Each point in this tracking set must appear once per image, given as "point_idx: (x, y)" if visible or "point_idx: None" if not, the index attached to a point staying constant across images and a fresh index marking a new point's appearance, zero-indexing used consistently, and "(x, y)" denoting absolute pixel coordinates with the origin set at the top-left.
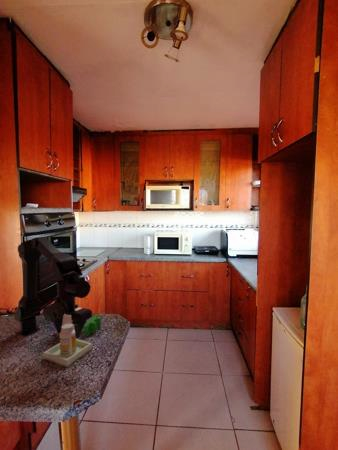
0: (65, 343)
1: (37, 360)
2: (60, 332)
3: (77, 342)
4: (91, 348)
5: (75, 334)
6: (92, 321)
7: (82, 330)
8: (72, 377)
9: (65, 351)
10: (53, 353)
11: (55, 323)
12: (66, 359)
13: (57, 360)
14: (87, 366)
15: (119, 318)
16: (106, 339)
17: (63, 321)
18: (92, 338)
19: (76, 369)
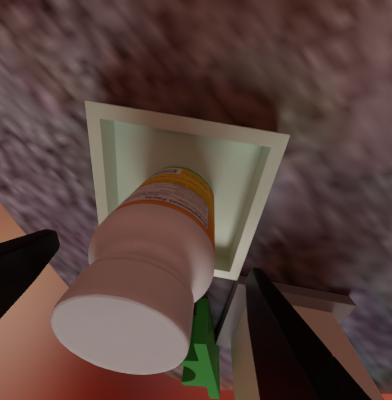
0: (140, 191)
1: (303, 107)
2: (317, 306)
3: None
4: None
5: (14, 247)
6: (195, 368)
7: (230, 322)
8: (14, 34)
9: (158, 172)
10: (245, 173)
11: (313, 384)
12: (97, 110)
13: (169, 114)
14: (35, 136)
15: (167, 373)
16: None
17: None
18: None
19: (55, 101)
